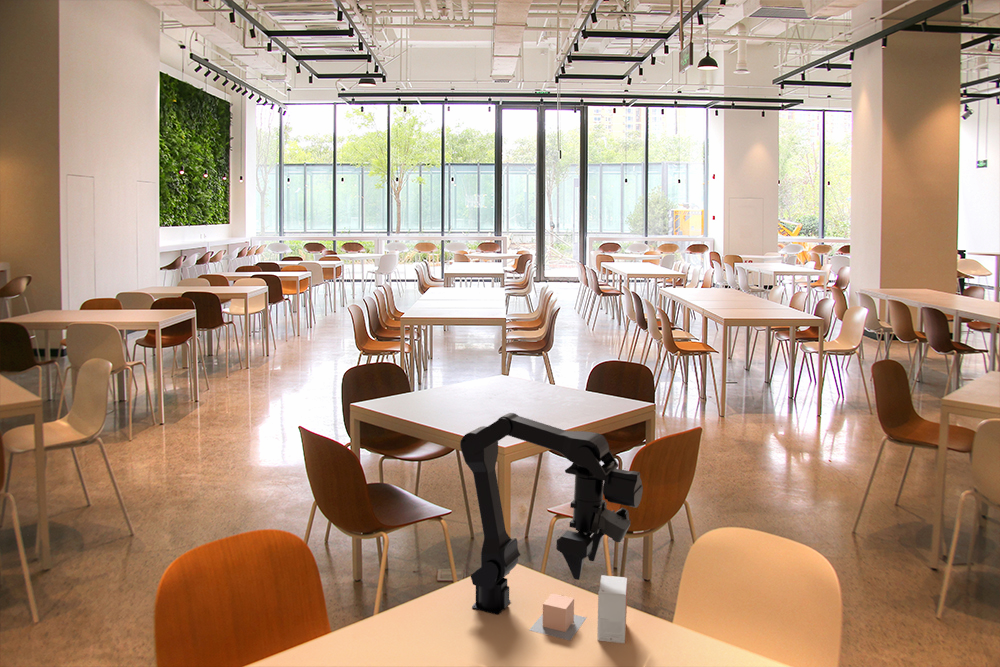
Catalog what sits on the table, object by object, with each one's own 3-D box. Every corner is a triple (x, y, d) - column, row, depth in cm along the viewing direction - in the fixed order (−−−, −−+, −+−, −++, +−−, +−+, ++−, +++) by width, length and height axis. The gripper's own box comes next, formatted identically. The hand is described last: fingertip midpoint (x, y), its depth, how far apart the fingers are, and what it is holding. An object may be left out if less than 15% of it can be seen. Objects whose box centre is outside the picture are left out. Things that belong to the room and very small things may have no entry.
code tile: (528, 631, 158) (528, 630, 158) (547, 609, 167) (547, 608, 167) (570, 641, 154) (570, 640, 154) (586, 618, 163) (586, 617, 163)
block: (542, 626, 159) (542, 603, 159) (551, 615, 164) (551, 593, 163) (565, 632, 157) (565, 609, 157) (573, 620, 162) (574, 598, 161)
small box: (625, 644, 153) (626, 595, 152) (596, 641, 154) (598, 592, 153) (626, 624, 161) (628, 576, 160) (599, 621, 162) (600, 574, 161)
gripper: (613, 521, 143) (608, 599, 145) (640, 489, 159) (635, 560, 162) (557, 509, 147) (553, 585, 150) (588, 479, 164) (585, 548, 167)
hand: (584, 569), depth 157 cm, fingers open, 9 cm apart
